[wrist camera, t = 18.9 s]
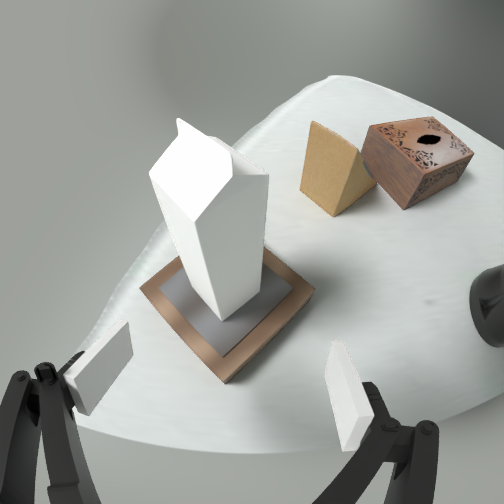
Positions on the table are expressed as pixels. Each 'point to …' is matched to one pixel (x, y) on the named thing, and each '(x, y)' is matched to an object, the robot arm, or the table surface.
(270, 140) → the table surface
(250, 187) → the milk
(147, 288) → the walnut plinth
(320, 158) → the sandwich container
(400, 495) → the robot arm
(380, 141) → the tissue box cover
